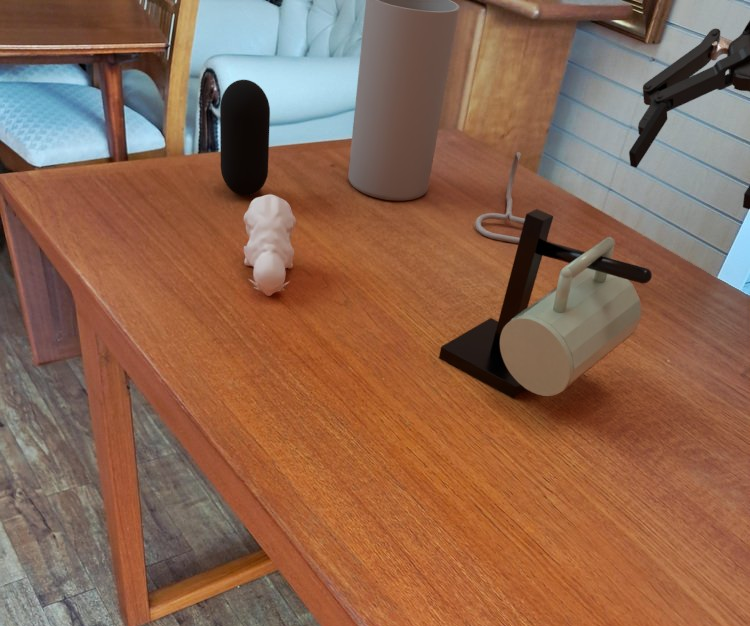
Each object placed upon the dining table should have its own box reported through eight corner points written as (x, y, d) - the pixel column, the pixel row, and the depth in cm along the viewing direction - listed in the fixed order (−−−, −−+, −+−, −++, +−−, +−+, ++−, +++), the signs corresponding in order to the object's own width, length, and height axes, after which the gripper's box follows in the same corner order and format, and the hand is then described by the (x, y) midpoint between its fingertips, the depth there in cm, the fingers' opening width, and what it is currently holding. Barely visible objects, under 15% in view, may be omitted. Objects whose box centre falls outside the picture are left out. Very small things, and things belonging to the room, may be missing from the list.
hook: (538, 191, 127) (533, 262, 114) (480, 181, 127) (469, 250, 115) (550, 147, 121) (547, 217, 109) (490, 136, 122) (480, 204, 109)
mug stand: (438, 358, 88) (469, 208, 76) (488, 328, 94) (524, 186, 82) (575, 432, 80) (632, 279, 69) (619, 395, 87) (678, 249, 75)
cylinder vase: (331, 177, 122) (347, -11, 105) (389, 165, 129) (413, -14, 112) (386, 208, 116) (412, 14, 99) (443, 194, 123) (478, 9, 106)
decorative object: (259, 183, 117) (261, 73, 107) (273, 202, 113) (277, 88, 102) (215, 185, 114) (214, 72, 104) (228, 204, 110) (228, 88, 100)
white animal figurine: (297, 190, 95) (300, 244, 87) (293, 253, 101) (295, 309, 93) (244, 185, 94) (241, 239, 86) (243, 250, 100) (241, 305, 92)
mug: (495, 370, 83) (564, 317, 88) (561, 410, 79) (630, 353, 84) (510, 262, 73) (587, 210, 78) (586, 303, 69) (662, 245, 74)
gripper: (904, 69, 85) (794, 238, 85) (689, 10, 95) (592, 162, 95) (923, 16, 78) (803, 201, 79) (689, -41, 88) (585, 124, 89)
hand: (687, 180), depth 87 cm, fingers open, 13 cm apart
